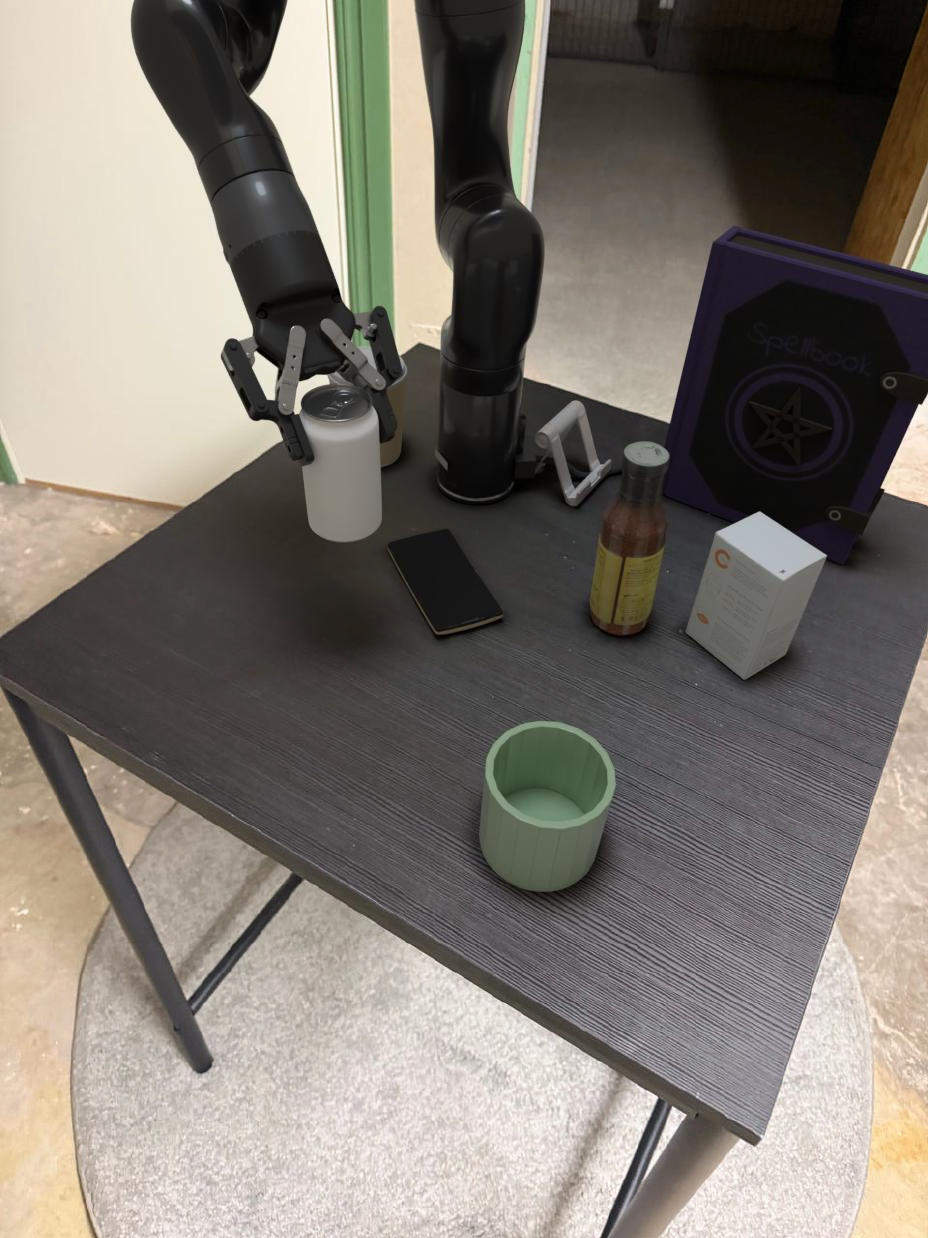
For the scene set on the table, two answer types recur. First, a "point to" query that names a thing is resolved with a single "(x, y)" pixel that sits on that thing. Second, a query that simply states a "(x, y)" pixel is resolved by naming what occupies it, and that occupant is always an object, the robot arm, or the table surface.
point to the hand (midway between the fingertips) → (348, 450)
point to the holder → (544, 805)
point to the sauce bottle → (631, 543)
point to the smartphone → (444, 582)
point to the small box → (753, 593)
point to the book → (797, 386)
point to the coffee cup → (397, 399)
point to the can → (342, 463)
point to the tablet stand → (552, 440)
